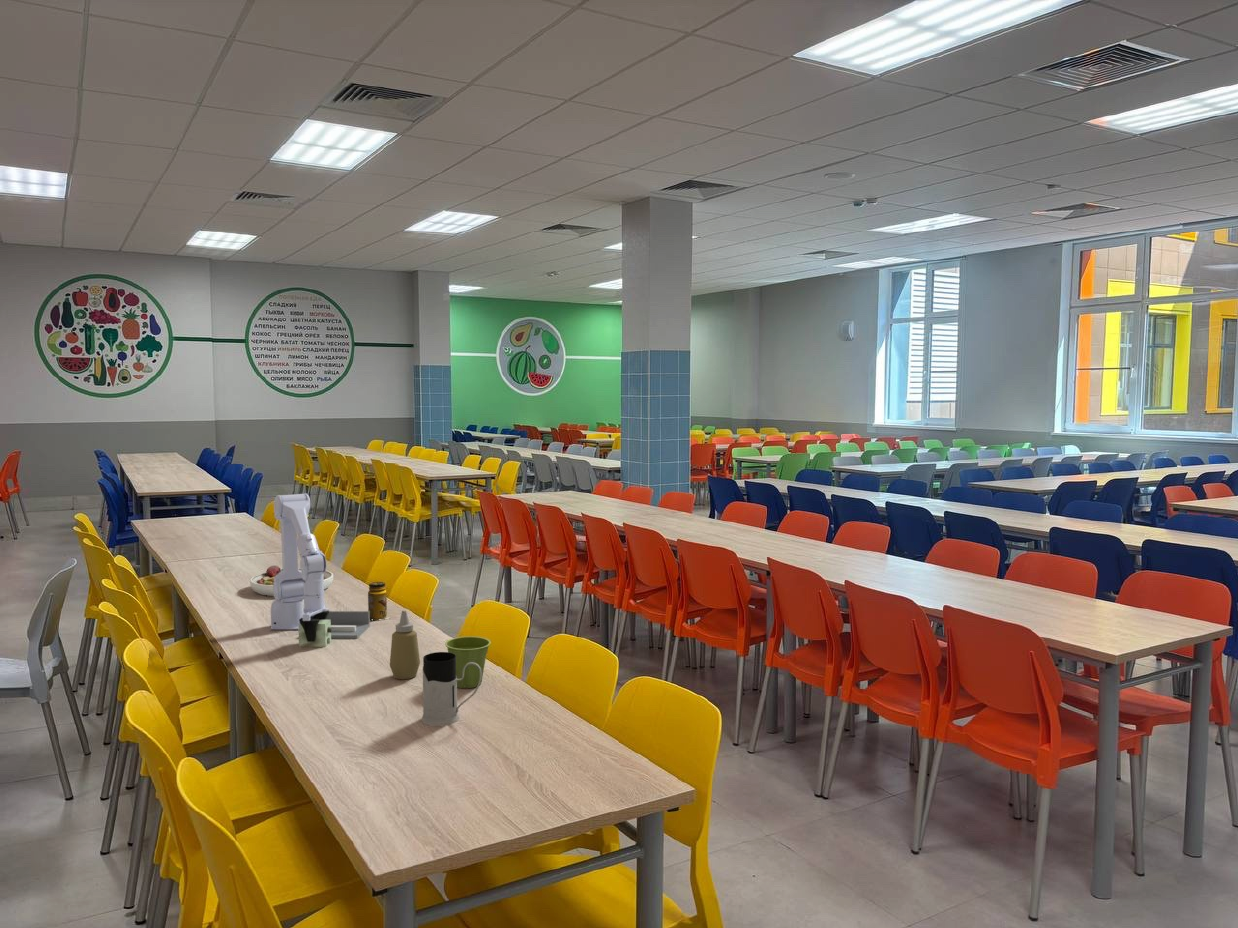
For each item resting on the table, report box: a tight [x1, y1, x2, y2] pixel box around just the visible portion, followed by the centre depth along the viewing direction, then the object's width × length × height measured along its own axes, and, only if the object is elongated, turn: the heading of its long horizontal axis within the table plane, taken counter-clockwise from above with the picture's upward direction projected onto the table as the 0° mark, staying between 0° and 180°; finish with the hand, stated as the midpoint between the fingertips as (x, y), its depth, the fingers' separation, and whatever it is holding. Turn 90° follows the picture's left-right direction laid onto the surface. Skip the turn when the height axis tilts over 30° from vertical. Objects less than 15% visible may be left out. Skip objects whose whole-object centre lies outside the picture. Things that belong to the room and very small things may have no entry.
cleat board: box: [326, 610, 371, 640], centre depth 274 cm, size 18×14×5 cm
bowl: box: [249, 565, 334, 597], centre depth 332 cm, size 30×30×8 cm
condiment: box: [367, 581, 391, 622], centre depth 290 cm, size 7×8×12 cm
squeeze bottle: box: [389, 609, 421, 680], centre depth 232 cm, size 8×8×18 cm
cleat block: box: [298, 620, 332, 648], centre depth 261 cm, size 9×5×7 cm, turn 91°
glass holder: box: [420, 651, 482, 727], centre depth 202 cm, size 9×14×15 cm, turn 88°
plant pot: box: [444, 635, 492, 689], centre depth 226 cm, size 12×12×11 cm
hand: (315, 637), depth 261 cm, fingers open, 6 cm apart
